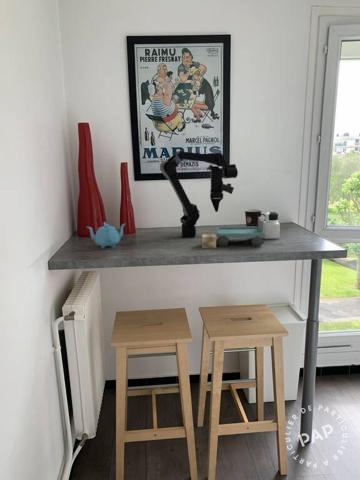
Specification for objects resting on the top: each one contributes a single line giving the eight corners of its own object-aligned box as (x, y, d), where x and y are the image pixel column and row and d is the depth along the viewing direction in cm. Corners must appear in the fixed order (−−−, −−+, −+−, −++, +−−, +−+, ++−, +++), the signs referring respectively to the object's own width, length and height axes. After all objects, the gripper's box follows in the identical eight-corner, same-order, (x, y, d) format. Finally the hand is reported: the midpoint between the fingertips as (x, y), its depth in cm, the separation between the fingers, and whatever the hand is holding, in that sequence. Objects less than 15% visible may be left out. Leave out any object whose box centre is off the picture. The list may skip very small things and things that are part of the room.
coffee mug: (241, 228, 194) (242, 209, 192) (255, 226, 197) (256, 208, 194) (252, 232, 184) (252, 213, 181) (266, 230, 186) (267, 211, 184)
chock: (202, 248, 157) (202, 237, 156) (202, 245, 162) (202, 234, 161) (216, 248, 157) (216, 236, 156) (215, 245, 162) (215, 234, 160)
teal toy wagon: (217, 246, 158) (217, 222, 156) (216, 239, 172) (216, 216, 169) (263, 246, 156) (264, 222, 154) (259, 238, 170) (259, 216, 167)
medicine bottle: (277, 235, 176) (278, 211, 174) (279, 238, 170) (280, 213, 167) (262, 235, 177) (263, 211, 174) (264, 238, 170) (264, 213, 167)
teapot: (108, 251, 156) (107, 228, 153) (86, 247, 162) (84, 225, 160) (127, 244, 167) (126, 222, 164) (106, 241, 173) (104, 220, 171)
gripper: (234, 180, 167) (233, 213, 171) (231, 177, 185) (231, 207, 189) (210, 180, 168) (210, 213, 172) (210, 177, 186) (210, 207, 190)
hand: (216, 210), depth 180 cm, fingers open, 9 cm apart
